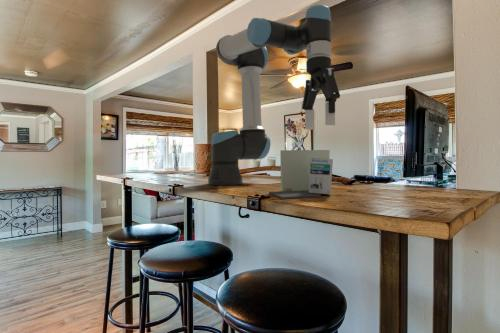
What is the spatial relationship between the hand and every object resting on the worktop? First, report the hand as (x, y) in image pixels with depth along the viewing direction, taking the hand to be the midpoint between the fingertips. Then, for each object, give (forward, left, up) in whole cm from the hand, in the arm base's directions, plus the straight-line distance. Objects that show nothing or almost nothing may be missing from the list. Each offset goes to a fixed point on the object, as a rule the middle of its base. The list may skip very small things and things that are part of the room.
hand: (319, 127), depth 91 cm
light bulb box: (0, 0, -21) cm, 21 cm away
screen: (-10, 0, -21) cm, 23 cm away
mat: (+1, -9, -21) cm, 23 cm away
